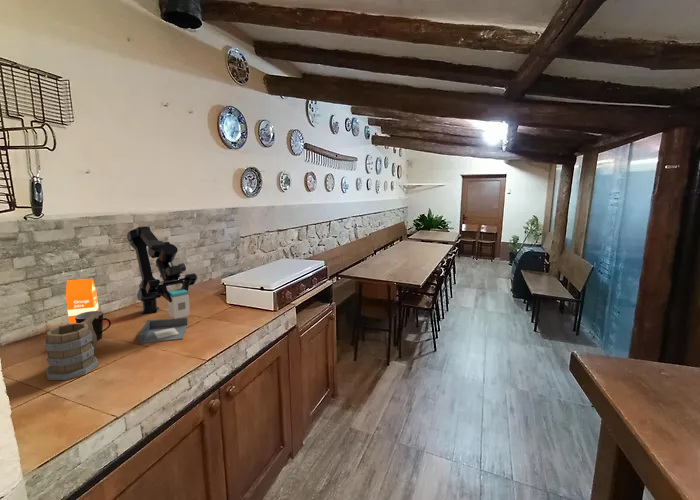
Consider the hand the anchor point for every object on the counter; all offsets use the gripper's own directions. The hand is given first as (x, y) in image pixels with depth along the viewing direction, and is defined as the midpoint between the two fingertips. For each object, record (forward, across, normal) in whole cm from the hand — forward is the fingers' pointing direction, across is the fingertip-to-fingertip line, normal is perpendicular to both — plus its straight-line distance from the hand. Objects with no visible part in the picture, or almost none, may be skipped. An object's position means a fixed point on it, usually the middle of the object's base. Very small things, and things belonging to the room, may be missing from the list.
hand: (179, 300), depth 140 cm
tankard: (+12, -34, +7) cm, 37 cm away
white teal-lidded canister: (+4, 0, +6) cm, 7 cm away
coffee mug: (-1, -26, +21) cm, 33 cm away
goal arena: (+8, -5, +11) cm, 15 cm away
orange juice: (-15, -25, +35) cm, 46 cm away
